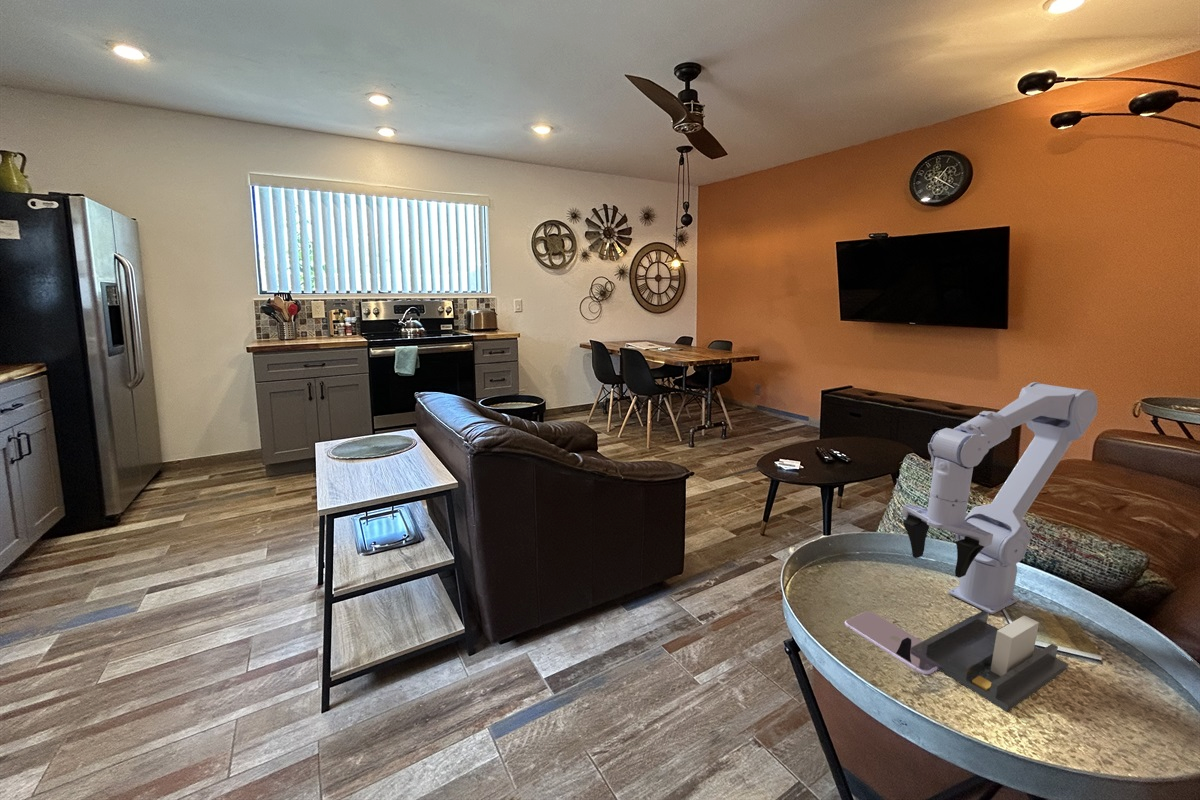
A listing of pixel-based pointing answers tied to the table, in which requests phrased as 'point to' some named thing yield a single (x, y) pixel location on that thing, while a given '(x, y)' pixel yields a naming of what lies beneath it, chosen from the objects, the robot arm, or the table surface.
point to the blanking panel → (1014, 644)
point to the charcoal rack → (988, 662)
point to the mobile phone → (890, 640)
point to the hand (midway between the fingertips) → (938, 565)
